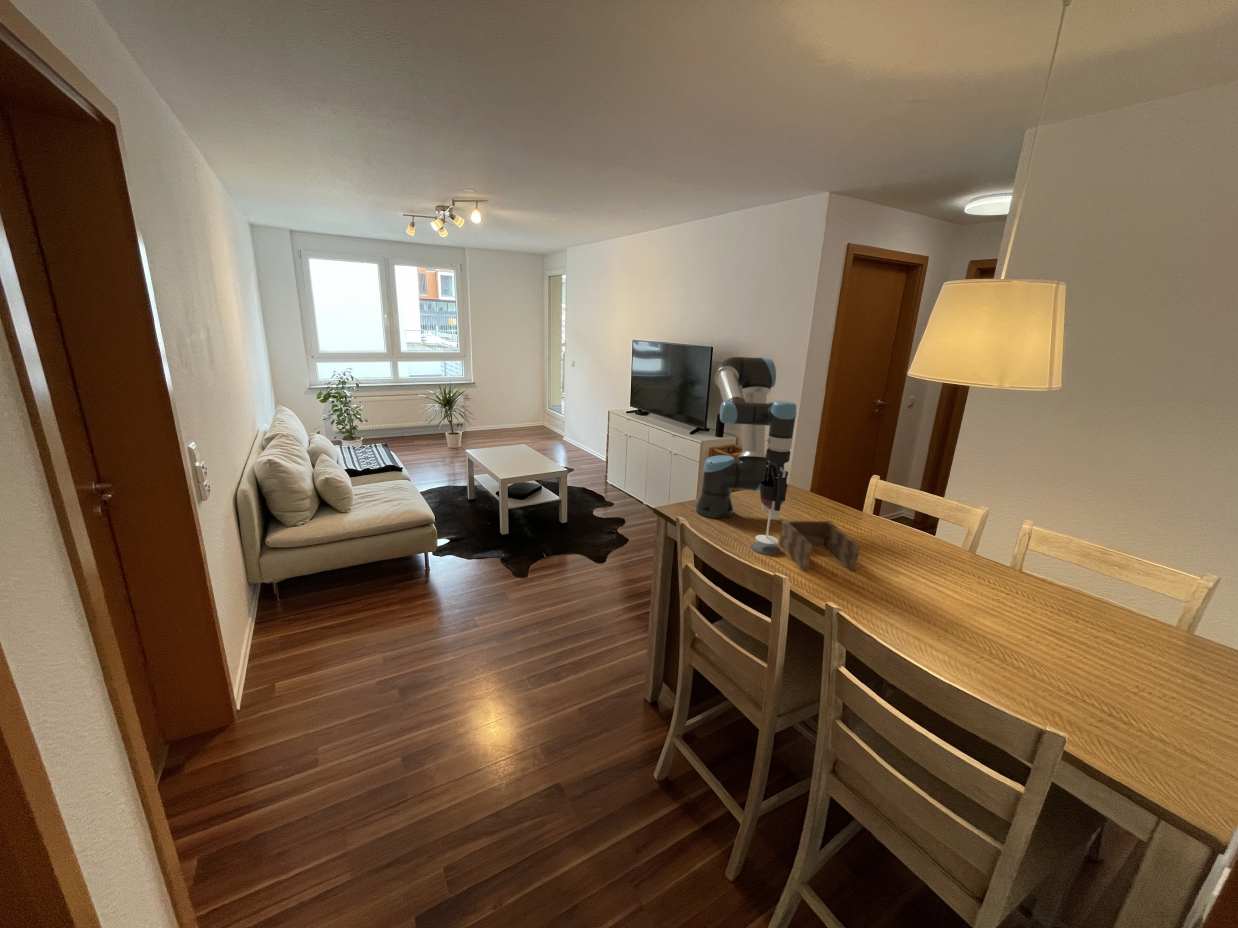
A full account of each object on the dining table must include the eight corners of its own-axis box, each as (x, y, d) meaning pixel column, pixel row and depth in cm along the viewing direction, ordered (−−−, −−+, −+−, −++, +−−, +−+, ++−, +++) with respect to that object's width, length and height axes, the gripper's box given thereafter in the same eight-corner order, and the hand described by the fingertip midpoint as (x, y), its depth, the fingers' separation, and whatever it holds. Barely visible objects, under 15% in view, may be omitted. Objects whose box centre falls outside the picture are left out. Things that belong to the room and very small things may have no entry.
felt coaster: (746, 542, 176) (746, 541, 176) (774, 542, 177) (774, 541, 176) (756, 554, 166) (756, 553, 166) (785, 555, 167) (785, 554, 167)
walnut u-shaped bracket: (779, 544, 176) (782, 520, 173) (825, 544, 177) (829, 521, 175) (803, 570, 156) (807, 544, 154) (855, 571, 158) (860, 545, 155)
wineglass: (782, 544, 166) (790, 488, 161) (756, 543, 167) (764, 486, 161) (776, 535, 174) (783, 481, 169) (751, 533, 174) (758, 479, 169)
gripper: (757, 441, 171) (749, 504, 177) (779, 456, 152) (770, 525, 158) (777, 442, 172) (769, 504, 178) (803, 457, 152) (793, 526, 158)
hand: (770, 514), depth 168 cm, fingers closed on wineglass, 7 cm apart
